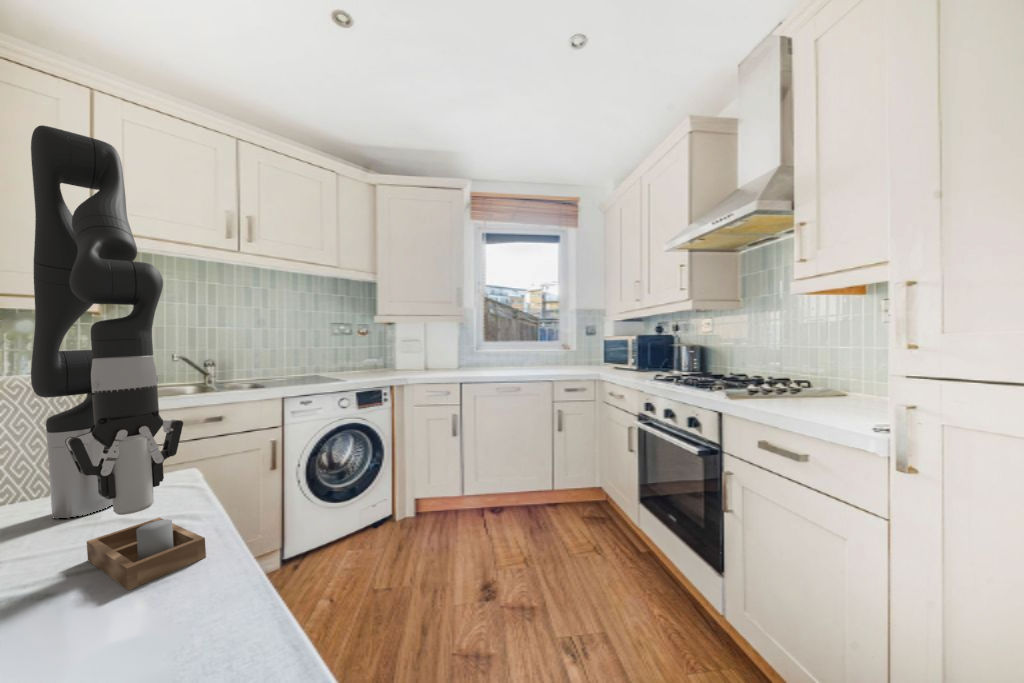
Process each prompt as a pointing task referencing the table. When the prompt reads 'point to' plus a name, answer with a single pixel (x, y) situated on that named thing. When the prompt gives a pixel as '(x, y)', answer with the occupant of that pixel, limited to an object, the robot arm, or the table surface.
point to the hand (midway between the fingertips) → (132, 491)
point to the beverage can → (133, 476)
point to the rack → (122, 564)
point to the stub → (154, 538)
